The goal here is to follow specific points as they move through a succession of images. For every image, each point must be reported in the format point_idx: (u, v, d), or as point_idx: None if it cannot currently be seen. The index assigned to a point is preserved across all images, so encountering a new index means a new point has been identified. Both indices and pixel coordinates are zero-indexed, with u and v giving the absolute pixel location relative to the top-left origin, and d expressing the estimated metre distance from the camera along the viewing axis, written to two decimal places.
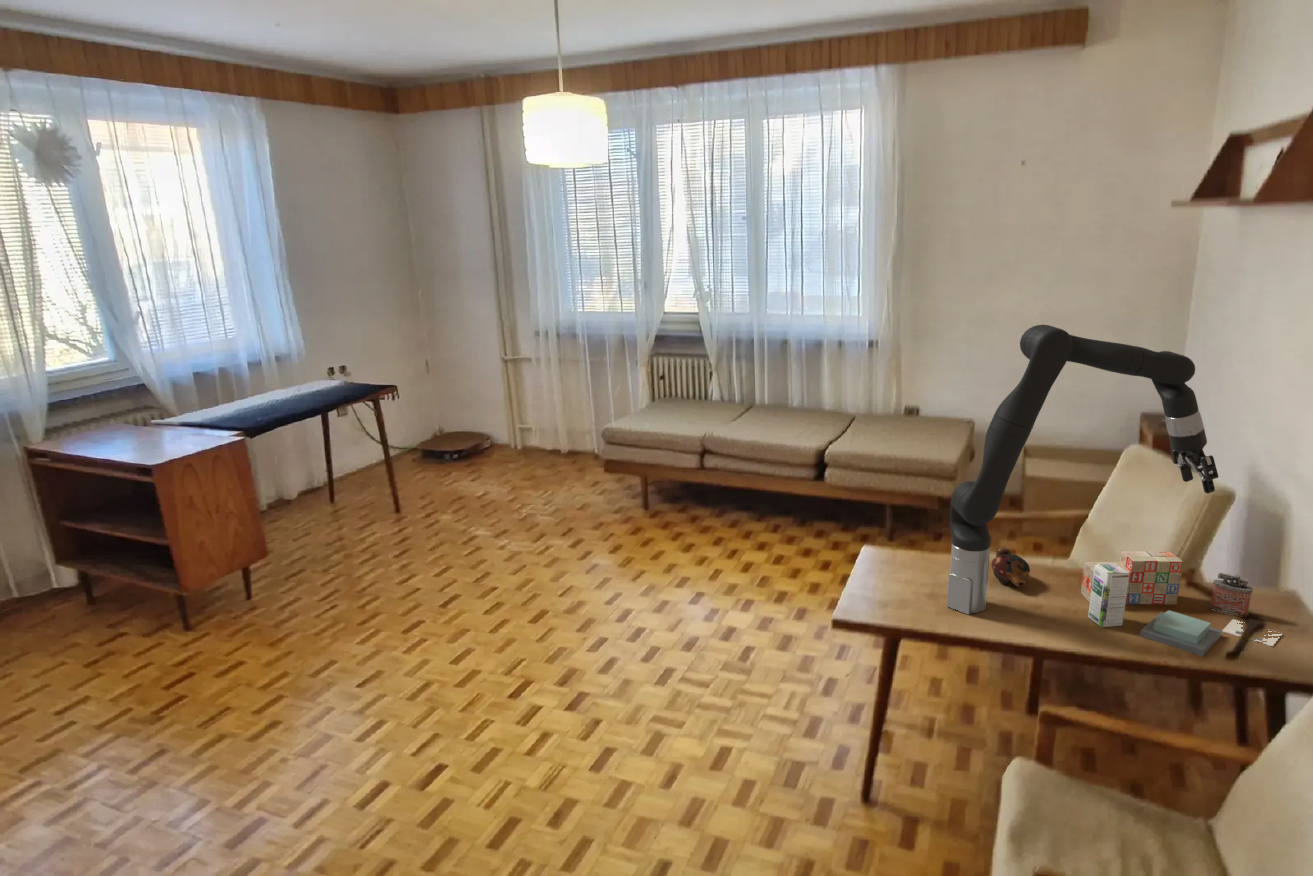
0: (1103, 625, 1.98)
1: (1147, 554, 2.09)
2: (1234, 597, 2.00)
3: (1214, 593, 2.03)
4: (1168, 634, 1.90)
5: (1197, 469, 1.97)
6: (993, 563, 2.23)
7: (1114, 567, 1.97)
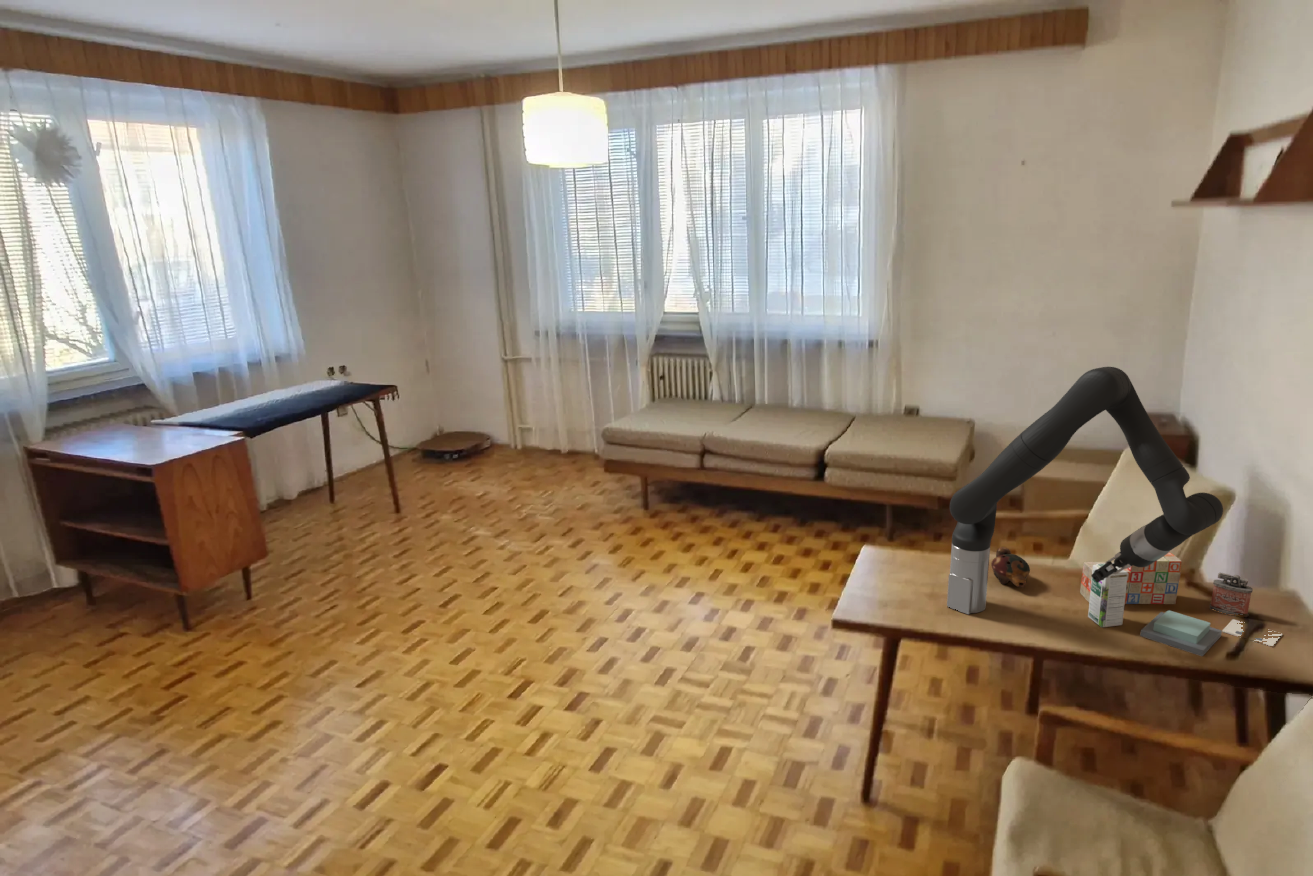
0: (1103, 625, 1.98)
1: None
2: (1234, 597, 2.00)
3: (1214, 593, 2.03)
4: (1168, 634, 1.90)
5: None
6: (993, 563, 2.23)
7: None
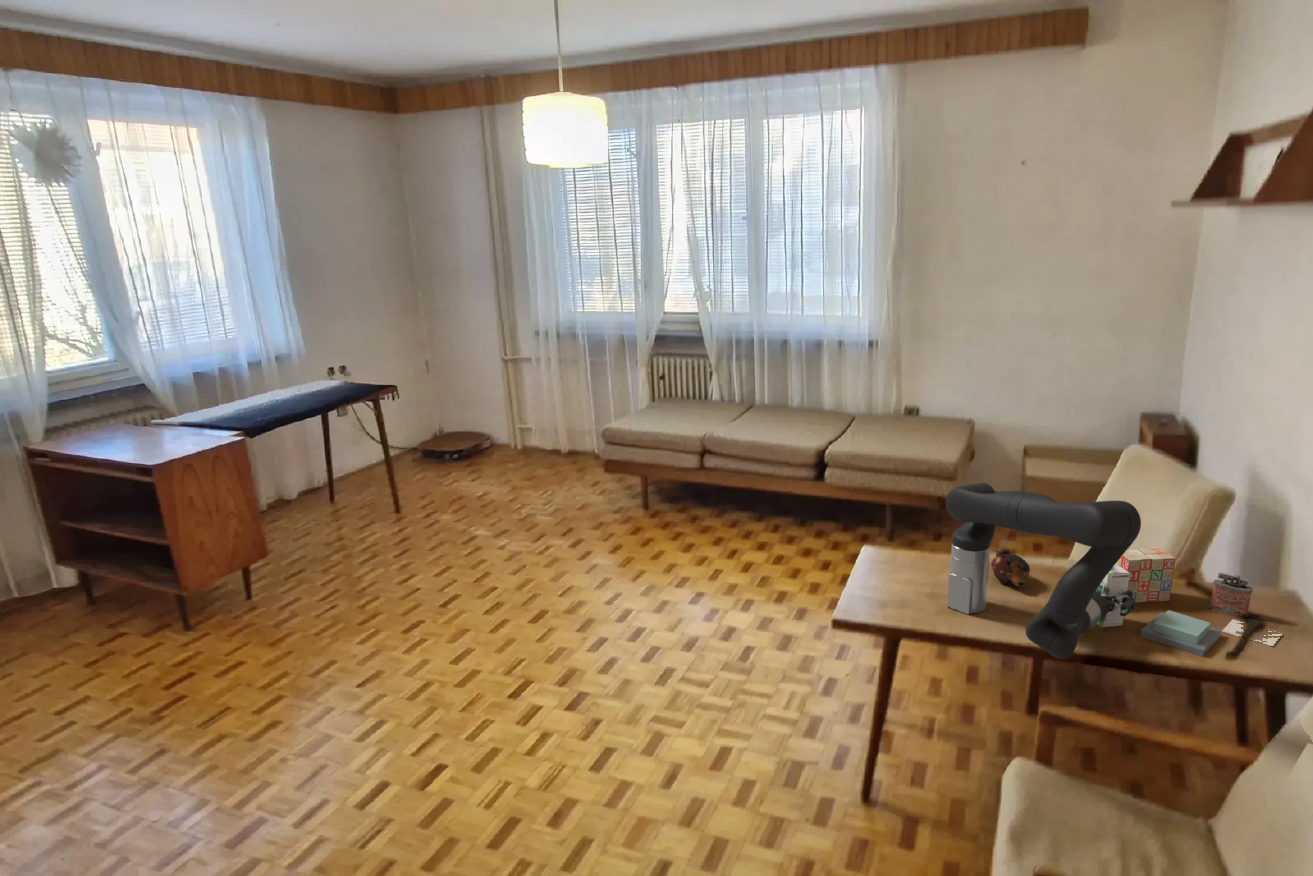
0: (1103, 625, 1.98)
1: (1140, 552, 2.10)
2: (1234, 597, 2.00)
3: (1214, 593, 2.03)
4: (1168, 634, 1.90)
5: None
6: (993, 563, 2.23)
7: (1114, 567, 1.97)
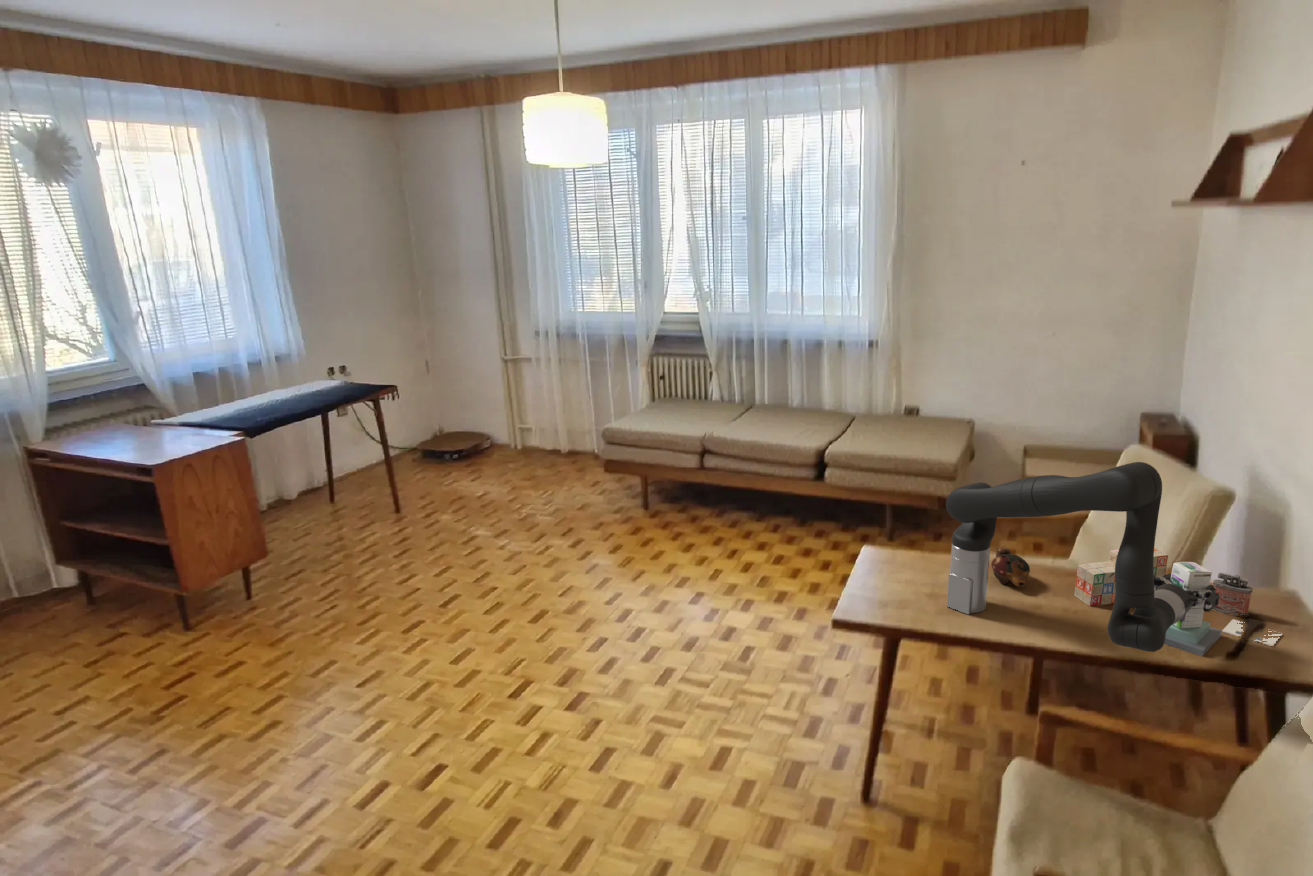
0: (1181, 626, 1.89)
1: None
2: (1234, 597, 2.00)
3: None
4: (1168, 634, 1.90)
5: (1163, 581, 1.89)
6: (993, 563, 2.23)
7: (1195, 566, 1.88)
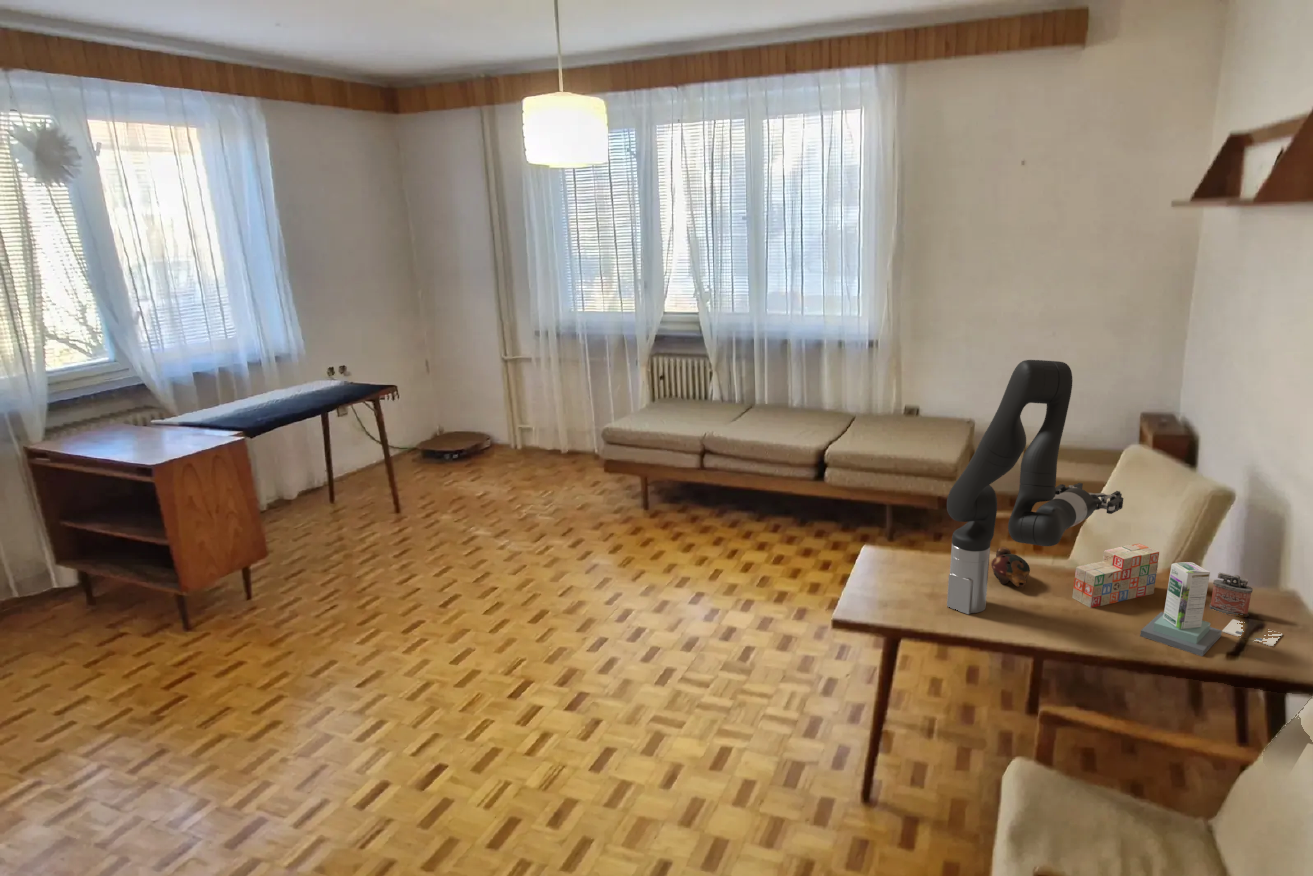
0: (1181, 627, 1.89)
1: (1126, 549, 2.12)
2: (1234, 597, 2.00)
3: (1214, 593, 2.03)
4: (1168, 634, 1.90)
5: (1071, 488, 1.92)
6: (993, 563, 2.23)
7: (1193, 566, 1.88)
